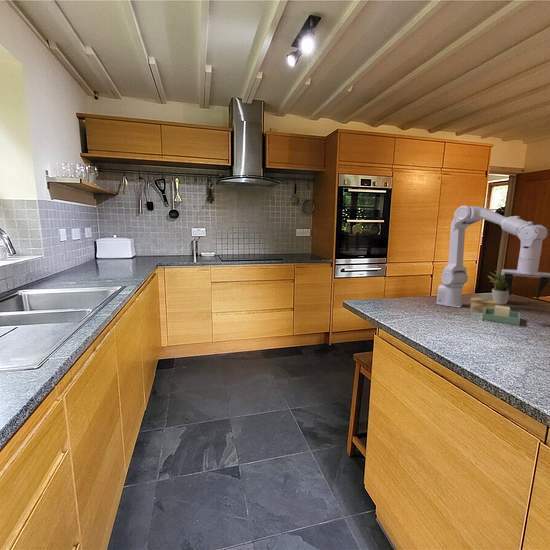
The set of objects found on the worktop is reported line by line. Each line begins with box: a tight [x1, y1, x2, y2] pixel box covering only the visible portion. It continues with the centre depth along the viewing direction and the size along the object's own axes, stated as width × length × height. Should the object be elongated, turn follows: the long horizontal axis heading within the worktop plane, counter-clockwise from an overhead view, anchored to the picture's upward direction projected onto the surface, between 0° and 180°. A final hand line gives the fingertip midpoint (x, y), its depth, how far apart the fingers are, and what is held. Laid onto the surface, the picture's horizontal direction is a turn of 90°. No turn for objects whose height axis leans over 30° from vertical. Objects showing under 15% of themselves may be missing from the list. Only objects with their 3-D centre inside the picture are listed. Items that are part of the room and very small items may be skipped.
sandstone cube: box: [494, 304, 511, 317], centre depth 114 cm, size 4×4×4 cm
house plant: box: [487, 270, 521, 305], centre depth 139 cm, size 14×14×16 cm
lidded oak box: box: [469, 296, 498, 314], centre depth 125 cm, size 9×6×5 cm, turn 51°
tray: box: [481, 308, 521, 327], centre depth 114 cm, size 11×11×2 cm
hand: (523, 296), depth 108 cm, fingers open, 7 cm apart
